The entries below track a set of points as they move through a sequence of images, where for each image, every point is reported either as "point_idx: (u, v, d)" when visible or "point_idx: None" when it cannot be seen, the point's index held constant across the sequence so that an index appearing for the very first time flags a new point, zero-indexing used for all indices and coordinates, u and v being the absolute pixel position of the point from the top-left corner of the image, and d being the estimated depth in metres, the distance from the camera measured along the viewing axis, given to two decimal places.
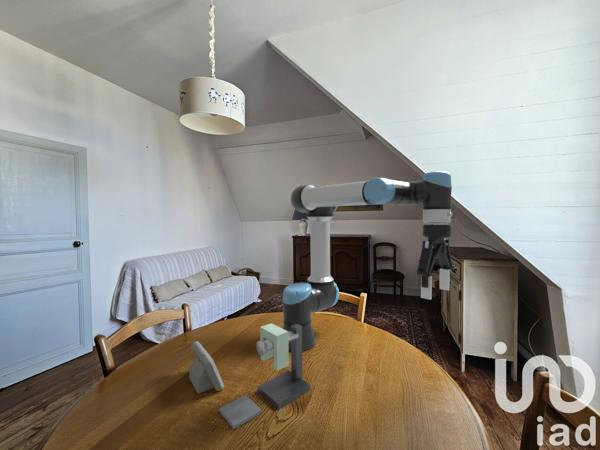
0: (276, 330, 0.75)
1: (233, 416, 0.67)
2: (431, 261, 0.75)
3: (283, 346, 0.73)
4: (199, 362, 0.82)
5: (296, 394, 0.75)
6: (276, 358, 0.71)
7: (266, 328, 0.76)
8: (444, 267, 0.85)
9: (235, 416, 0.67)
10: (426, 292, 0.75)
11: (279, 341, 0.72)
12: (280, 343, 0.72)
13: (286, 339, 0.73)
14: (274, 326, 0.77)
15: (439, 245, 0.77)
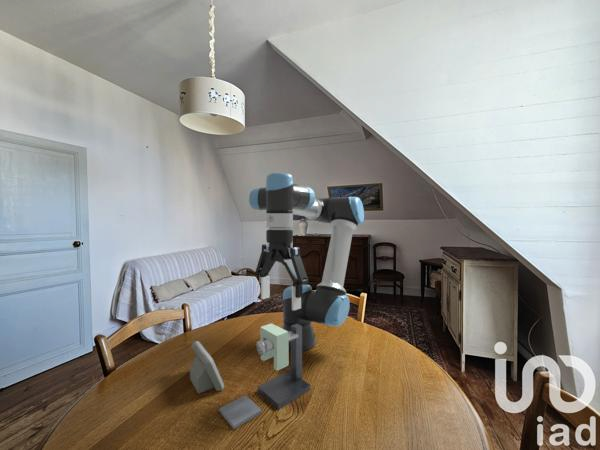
0: (276, 330, 0.75)
1: (233, 416, 0.67)
2: None
3: (283, 346, 0.73)
4: (199, 362, 0.82)
5: (296, 394, 0.75)
6: (276, 358, 0.71)
7: (266, 328, 0.76)
8: None
9: (235, 416, 0.67)
10: None
11: (279, 341, 0.72)
12: (280, 343, 0.72)
13: (286, 339, 0.73)
14: (274, 326, 0.77)
15: None
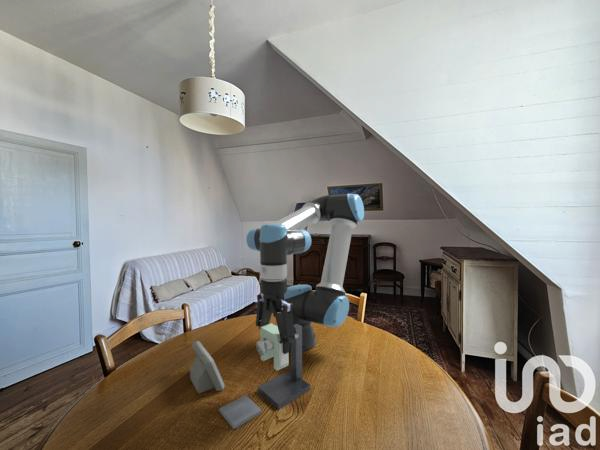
0: (276, 330, 0.75)
1: (233, 416, 0.67)
2: None
3: None
4: (200, 362, 0.82)
5: (296, 394, 0.75)
6: (276, 358, 0.71)
7: (266, 328, 0.76)
8: None
9: (235, 416, 0.67)
10: None
11: None
12: None
13: None
14: (274, 326, 0.77)
15: None
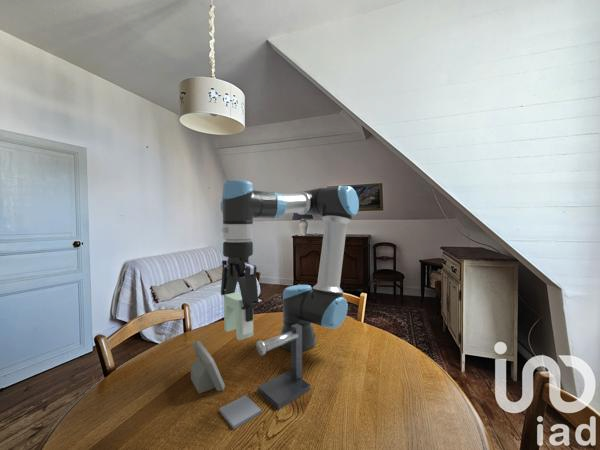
0: (240, 297, 0.68)
1: (233, 416, 0.67)
2: None
3: None
4: (200, 362, 0.82)
5: (296, 394, 0.75)
6: (238, 326, 0.65)
7: (230, 296, 0.69)
8: None
9: (235, 416, 0.67)
10: None
11: None
12: None
13: None
14: (239, 294, 0.70)
15: None
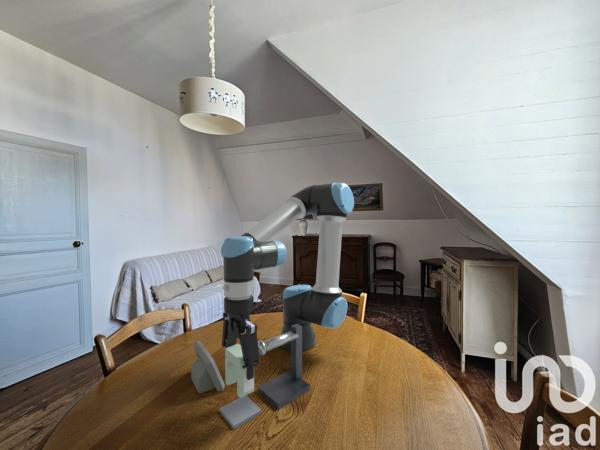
0: (241, 352, 0.68)
1: (233, 416, 0.67)
2: None
3: None
4: (200, 362, 0.82)
5: (296, 394, 0.75)
6: (239, 384, 0.65)
7: (231, 350, 0.69)
8: None
9: (235, 416, 0.67)
10: None
11: None
12: None
13: None
14: (240, 347, 0.71)
15: None
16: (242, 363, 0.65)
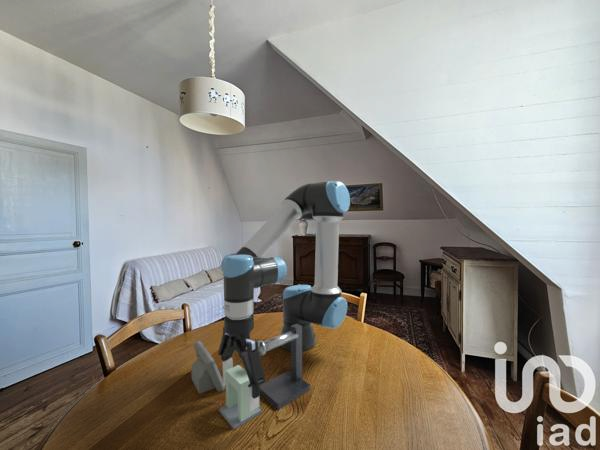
0: (241, 375, 0.69)
1: (233, 416, 0.67)
2: None
3: None
4: (201, 362, 0.82)
5: (296, 394, 0.75)
6: (240, 408, 0.65)
7: (231, 373, 0.70)
8: None
9: (235, 416, 0.67)
10: None
11: (243, 389, 0.66)
12: (244, 391, 0.66)
13: None
14: (241, 369, 0.71)
15: None
16: (243, 387, 0.65)
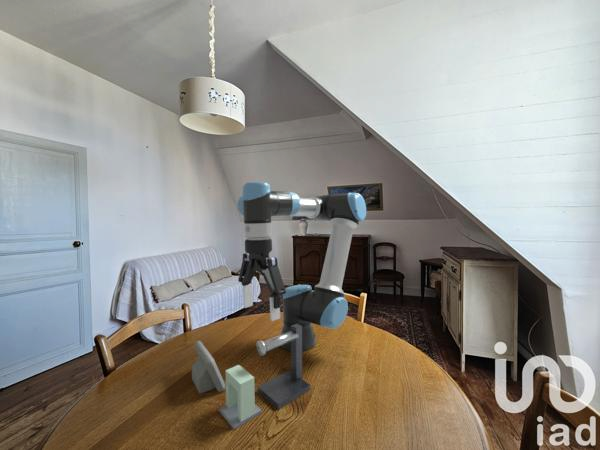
0: (241, 375, 0.69)
1: (233, 416, 0.67)
2: None
3: (248, 394, 0.67)
4: (201, 362, 0.82)
5: (296, 394, 0.75)
6: (240, 408, 0.65)
7: (231, 373, 0.70)
8: None
9: (235, 416, 0.67)
10: None
11: (243, 389, 0.66)
12: (244, 391, 0.66)
13: (252, 386, 0.67)
14: (241, 369, 0.71)
15: None
16: (243, 387, 0.65)
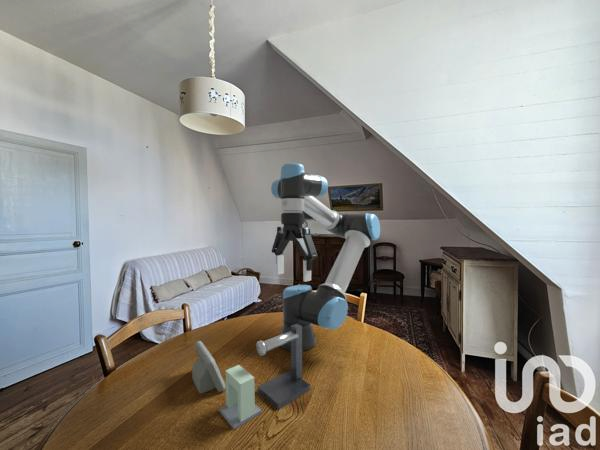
0: (241, 375, 0.69)
1: (233, 416, 0.67)
2: None
3: (248, 394, 0.67)
4: (201, 362, 0.82)
5: (296, 394, 0.75)
6: (240, 408, 0.65)
7: (231, 373, 0.70)
8: None
9: (235, 416, 0.67)
10: None
11: (243, 389, 0.66)
12: (244, 391, 0.66)
13: (252, 386, 0.67)
14: (241, 369, 0.71)
15: None
16: (243, 387, 0.65)
